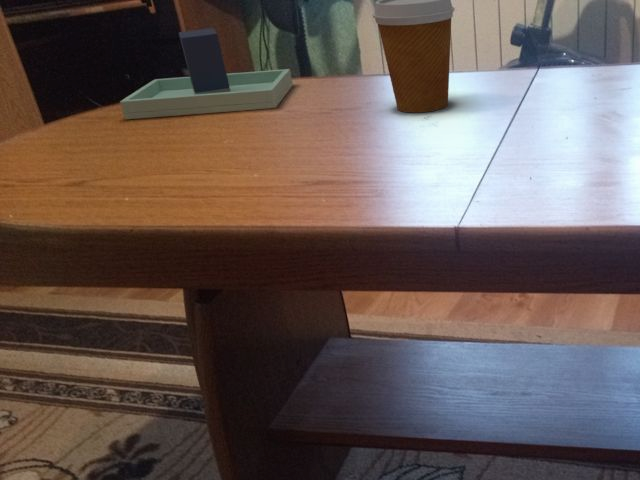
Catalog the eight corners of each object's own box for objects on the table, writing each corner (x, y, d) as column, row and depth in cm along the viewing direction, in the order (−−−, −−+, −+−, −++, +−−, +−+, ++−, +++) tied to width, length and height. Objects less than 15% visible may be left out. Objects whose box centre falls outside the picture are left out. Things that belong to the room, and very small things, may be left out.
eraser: (194, 93, 102) (178, 32, 98) (226, 89, 103) (212, 28, 99) (197, 102, 97) (181, 37, 93) (231, 97, 99) (217, 33, 94)
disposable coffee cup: (456, 114, 86) (448, 2, 79) (377, 117, 87) (362, 7, 81) (465, 95, 94) (458, -9, 87) (392, 98, 95) (380, -4, 89)
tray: (125, 119, 95) (119, 101, 94) (158, 95, 107) (154, 79, 105) (275, 108, 95) (272, 89, 94) (293, 85, 106) (290, 68, 105)
